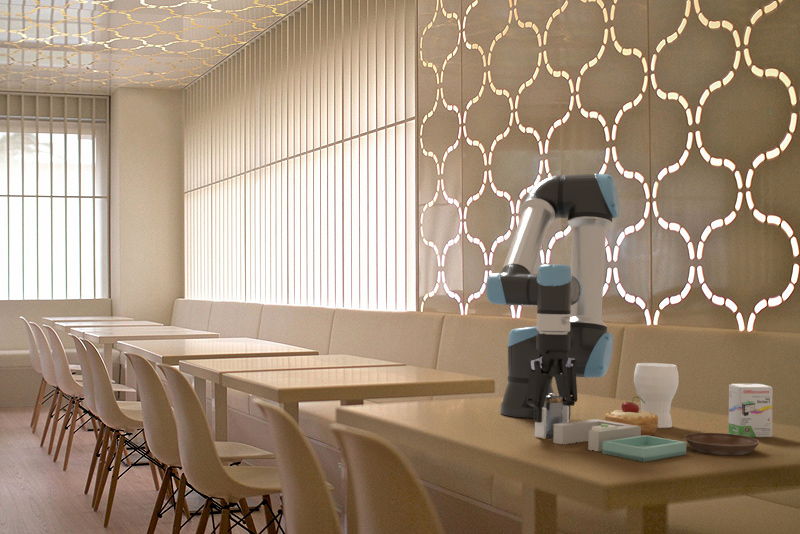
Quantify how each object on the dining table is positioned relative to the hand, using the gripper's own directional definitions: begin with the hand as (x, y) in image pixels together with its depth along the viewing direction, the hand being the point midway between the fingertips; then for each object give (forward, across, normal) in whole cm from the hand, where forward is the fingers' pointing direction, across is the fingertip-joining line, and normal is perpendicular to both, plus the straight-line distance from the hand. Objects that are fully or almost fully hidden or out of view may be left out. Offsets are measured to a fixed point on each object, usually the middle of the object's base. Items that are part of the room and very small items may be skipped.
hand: (551, 435), depth 201 cm
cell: (0, 0, 0) cm, 0 cm away
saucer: (+1, +18, -31) cm, 36 cm away
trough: (0, 0, -25) cm, 25 cm away
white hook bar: (0, 0, -12) cm, 12 cm away
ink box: (0, +41, -24) cm, 48 cm away
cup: (0, +34, -3) cm, 34 cm away
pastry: (+1, +18, -8) cm, 20 cm away
